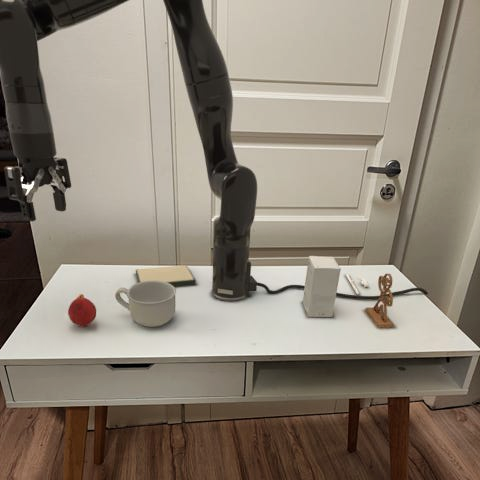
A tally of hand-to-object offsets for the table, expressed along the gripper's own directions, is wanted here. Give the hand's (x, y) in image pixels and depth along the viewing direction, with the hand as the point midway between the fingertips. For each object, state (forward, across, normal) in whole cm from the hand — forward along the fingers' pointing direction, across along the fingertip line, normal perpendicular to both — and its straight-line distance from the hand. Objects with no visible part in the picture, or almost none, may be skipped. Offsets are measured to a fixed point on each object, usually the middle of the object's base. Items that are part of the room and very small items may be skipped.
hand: (46, 215), depth 88 cm
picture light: (+24, +51, -61) cm, 83 cm away
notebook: (+24, +30, -10) cm, 39 cm away
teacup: (+24, +8, -17) cm, 31 cm away
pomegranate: (+24, -1, -7) cm, 25 cm away
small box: (+24, +30, -53) cm, 66 cm away
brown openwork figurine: (+24, +32, -68) cm, 79 cm away
